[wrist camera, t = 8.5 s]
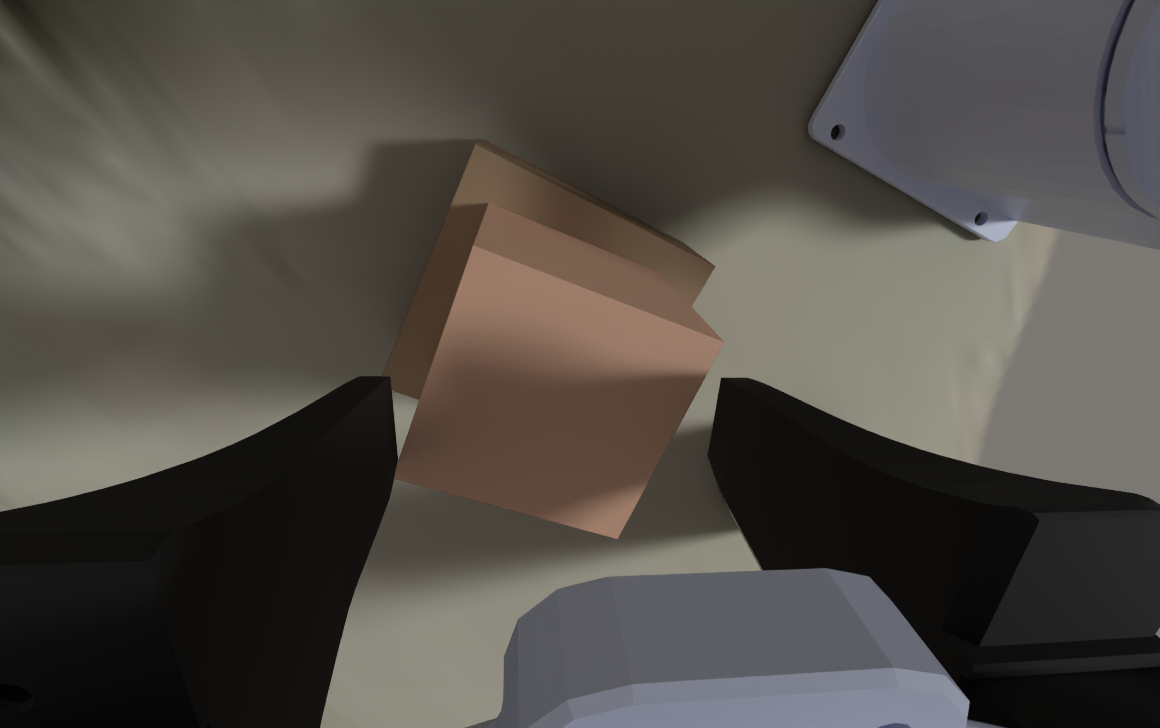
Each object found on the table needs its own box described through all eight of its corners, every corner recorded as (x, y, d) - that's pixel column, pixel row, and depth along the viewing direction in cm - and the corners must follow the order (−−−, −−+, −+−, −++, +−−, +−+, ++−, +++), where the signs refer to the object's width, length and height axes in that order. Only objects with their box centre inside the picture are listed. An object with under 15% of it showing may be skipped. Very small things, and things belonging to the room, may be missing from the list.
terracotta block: (658, 271, 17) (724, 341, 12) (589, 418, 19) (617, 539, 14) (488, 202, 16) (473, 245, 10) (431, 368, 18) (392, 478, 12)
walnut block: (680, 240, 21) (715, 266, 17) (585, 411, 24) (598, 465, 20) (482, 138, 19) (475, 144, 15) (401, 339, 21) (378, 384, 18)
